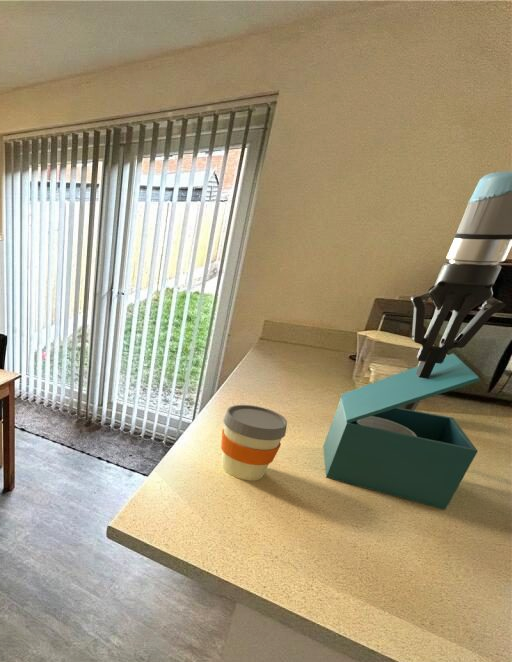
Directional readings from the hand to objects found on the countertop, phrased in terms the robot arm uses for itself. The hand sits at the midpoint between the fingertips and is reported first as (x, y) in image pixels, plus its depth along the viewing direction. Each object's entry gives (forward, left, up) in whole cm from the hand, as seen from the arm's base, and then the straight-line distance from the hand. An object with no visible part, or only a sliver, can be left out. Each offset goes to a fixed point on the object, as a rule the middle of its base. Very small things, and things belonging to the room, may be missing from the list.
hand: (422, 375), depth 84 cm
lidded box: (0, 0, -26) cm, 26 cm away
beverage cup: (+5, -39, -26) cm, 47 cm away
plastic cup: (+2, +1, -25) cm, 25 cm away
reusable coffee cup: (+20, +24, -26) cm, 41 cm away
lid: (+2, +1, -4) cm, 4 cm away
